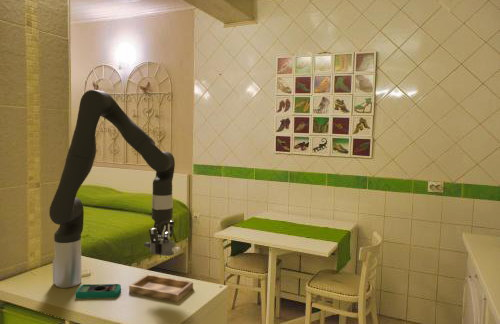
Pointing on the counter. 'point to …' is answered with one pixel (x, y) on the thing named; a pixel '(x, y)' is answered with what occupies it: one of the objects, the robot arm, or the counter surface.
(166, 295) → the oak tray
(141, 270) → the counter surface
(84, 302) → the counter surface
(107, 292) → the digital multimeter
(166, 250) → the gray bottle
